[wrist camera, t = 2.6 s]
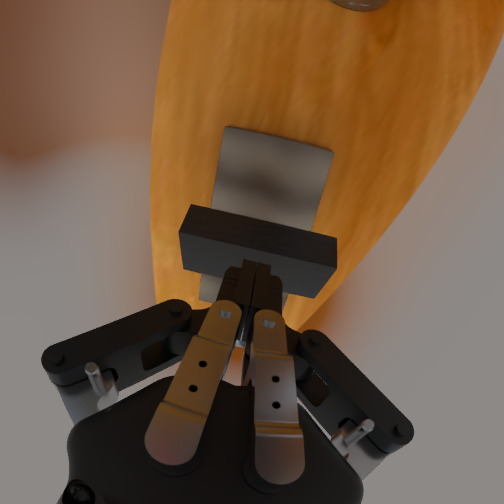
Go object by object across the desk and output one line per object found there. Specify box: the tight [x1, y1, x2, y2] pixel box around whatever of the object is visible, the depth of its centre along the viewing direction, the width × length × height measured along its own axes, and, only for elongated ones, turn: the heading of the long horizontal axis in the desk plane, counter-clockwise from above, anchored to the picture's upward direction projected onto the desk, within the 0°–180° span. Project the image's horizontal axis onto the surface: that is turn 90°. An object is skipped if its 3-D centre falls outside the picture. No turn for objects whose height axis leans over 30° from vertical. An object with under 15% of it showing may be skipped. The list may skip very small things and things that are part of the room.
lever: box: [179, 204, 337, 347], centre depth 24 cm, size 21×9×4 cm, turn 169°
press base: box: [199, 126, 334, 310], centre depth 30 cm, size 24×12×11 cm, turn 168°
